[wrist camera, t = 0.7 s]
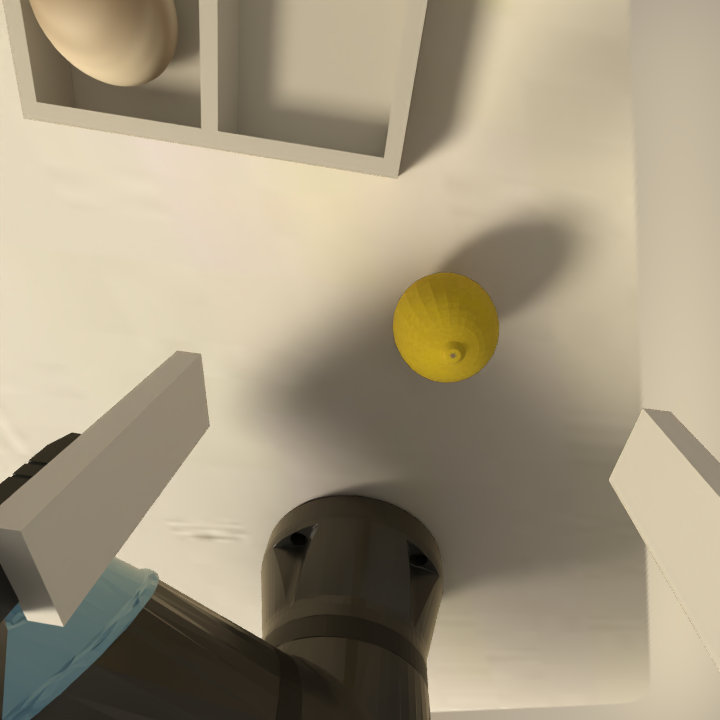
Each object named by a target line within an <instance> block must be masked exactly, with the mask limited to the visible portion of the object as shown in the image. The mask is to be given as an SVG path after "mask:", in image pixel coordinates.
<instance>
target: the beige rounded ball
mask: <svg viewBox="0 0 720 720" xmlns="http://www.w3.org/2000/svg"><path fill="white" fill-rule="evenodd" d="M29 1H30V5H31V7H32V10H33V12H34V14H35V17H36V19H37V21H38V23H39V25H40V27H41V28H42V30H43V31H44V33H45V35H46V36H47V37H48V39H49V40H50V41H51V43H52V44H53V45H54V47H55V48H56V49H57V50H58V51H59V52H60V53H61V54H62V55H63V56H64V57H65V58H66V59H67V60H68V61H69V62H70V63H71V64H73V65H74V66H75V67H77V68H78V69H79V70H81V71H82V72H84V73H85V74H87V75H89V76H91V77H93V78H95V79H97V80H100V81H102V82H105V83H107V84H112V85H116V86H125V87H129V86H139V85H143V84H146V83H148V82H150V81H152V80H154V79H155V78H157V77H158V76H160V75H161V74H162V73H163V72H164V71H165V69H166V68H167V67H168V66H169V64H170V62H171V60H172V58H173V55H174V53H175V50H176V46H177V39H178V19H177V13H176V7H175V4H174V0H29Z"/></svg>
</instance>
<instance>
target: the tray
mask: <svg viewBox="0 0 720 720" xmlns="http://www.w3.org/2000/svg"><path fill="white" fill-rule="evenodd" d="M427 1H428V0H174V4H175V7H176V13H177V19H178V39H177V46H176V50H175V53H174V55H173V58H172V60H171V62H170V64H169V66H168V67H167V68H166V69H165V71H164V72H163V73H162V74H161V75H160V76H158V77H157V78H155V79H154V80H152V81H150V82H148V83H146V84H143V85H139V86H129V87H125V86H116V85H112V84H107V83H105V82H102V81H100V80H97V79H95V78H93V77H91V76H89V75H87V74H85V73H84V72H82V71H81V70H79V69H78V68H77V67H75V66H74V65H73V64H71V63H70V62H69V61H68V60H67V59H66V58H65V57H64V56H63V55H62V54H61V53H60V52H59V51H58V50H57V49H56V48H55V47H54V45H53V44H52V43H51V41H50V40H49V39H48V37H47V36H46V35H45V33H44V31H43V30H42V28H41V27H40V25H39V23H38V21H37V19H36V17H35V14H34V12H33V10H32V7H31V5H30V1H29V0H3V6H4V12H5V17H6V23H7V28H8V34H9V40H10V45H11V51H12V56H13V62H14V68H15V73H16V79H17V84H18V90H19V96H20V101H21V107H22V112H23V118H24V119H30V120H36V121H42V122H48V123H55V124H61V125H67V126H73V127H79V128H86V129H92V130H98V131H104V132H110V133H117V134H123V135H129V136H135V137H141V138H148V139H154V140H160V141H166V142H172V143H179V144H185V145H191V146H197V147H203V148H210V149H216V150H222V151H228V152H234V153H241V154H247V155H253V156H259V157H265V158H272V159H278V160H284V161H290V162H296V163H303V164H309V165H315V166H321V167H327V168H334V169H340V170H346V171H352V172H358V173H365V174H371V175H377V176H383V177H389V178H396V179H398V173H399V167H400V161H401V155H402V149H403V143H404V137H405V132H406V126H407V120H408V114H409V108H410V102H411V96H412V90H413V84H414V78H415V72H416V66H417V61H418V55H419V49H420V43H421V37H422V31H423V25H424V19H425V13H426V7H427Z"/></svg>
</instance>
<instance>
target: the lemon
mask: <svg viewBox="0 0 720 720" xmlns="http://www.w3.org/2000/svg"><path fill="white" fill-rule="evenodd" d="M393 333H394V339H395V343H396V346H397V348H398V350H399V352H400V354H401V356H402V358H403V359H404V360H405V362H406V363H407V364H408V365H409V366H410V368H411V369H412V370H414V371H415V372H417V373H418V374H420V375H421V376H423V377H425V378H428V379H430V380H433V381H437V382H444V383H447V382H457V381H460V380H464V379H467V378H469V377H471V376H473V375H474V374H476V373H478V372H479V371H480V370H481V369H482V368H483V367H484V366H485V365H486V364H487V363H488V361H489V360H490V358H491V357H492V355H493V354H494V351H495V348H496V345H497V342H498V335H499V321H498V316H497V312H496V308H495V306H494V304H493V302H492V300H491V298H490V297H489V295H488V294H487V292H486V291H485V290H484V289H483V288H482V287H481V286H480V285H479V284H478V283H476V282H474V281H473V280H471V279H469V278H467V277H466V276H462V275H459V274H455V273H436V274H432V275H427V276H425V277H423V278H422V279H420V280H418V281H416V282H415V283H414V284H412V285H411V286H410V287H409V288H408V289H407V290H406V291H405V293H404V294H403V295H402V297H401V298H400V300H399V302H398V305H397V307H396V310H395V313H394V320H393Z"/></svg>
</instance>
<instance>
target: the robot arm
mask: <svg viewBox="0 0 720 720" xmlns="http://www.w3.org/2000/svg"><path fill="white" fill-rule="evenodd" d="M209 426H210V425H209V416H208V408H207V399H206V391H205V382H204V374H203V366H202V357H201V354H198V353H190V352H182V351H177V352H175V353H174V354H173V355H172V356H171V357H170V358H168V359H167V360H166V361H165V362H164V363H163V364H162V365H160V366H159V367H158V368H157V369H156V370H155V371H154V372H152V373H151V374H150V375H149V376H148V377H147V378H146V379H144V380H143V381H142V382H141V383H140V384H139V385H138V386H136V387H135V388H134V389H133V390H132V391H131V392H129V393H128V394H127V395H126V396H125V397H124V398H123V399H121V400H120V401H119V402H118V403H117V404H116V405H115V406H113V407H112V408H111V409H110V410H109V411H108V412H107V413H105V414H104V415H103V416H102V417H101V418H100V419H98V420H97V421H96V422H95V423H94V424H93V425H92V426H90V427H89V428H88V429H87V430H86V431H85V432H84V433H82V434H77V433H70V434H68V435H66V436H64V437H62V438H60V439H58V440H56V441H55V442H53V443H51V444H49V445H47V446H46V447H45V448H43V449H42V450H41V451H40V452H39V453H37V454H36V455H35V456H34V457H32V458H31V459H30V460H29V463H28V464H24V465H23V466H21V467H20V468H19V469H18V470H17V471H15V472H14V473H13V476H12V477H8V478H7V479H6V480H4V481H3V482H2V483H1V484H0V720H430V707H429V694H428V681H427V656H428V652H429V648H430V644H431V640H432V636H433V631H434V627H435V623H436V619H437V615H438V611H439V606H440V602H441V598H442V593H443V573H442V564H441V557H440V552H439V549H438V546H437V544H436V542H435V540H434V538H433V536H432V535H431V534H430V532H429V531H428V530H427V529H426V528H425V526H424V525H423V524H421V523H420V522H419V521H418V520H417V519H416V518H414V517H413V516H412V515H410V514H408V513H407V512H405V511H403V510H402V509H400V508H398V507H395V506H393V505H391V504H388V503H385V502H382V501H379V500H375V499H370V498H365V497H357V496H335V497H327V498H322V499H317V500H314V501H311V502H308V503H305V504H303V505H301V506H299V507H297V508H295V509H294V510H292V511H291V512H289V513H288V514H287V515H286V516H284V517H283V518H282V519H281V520H280V521H279V523H278V524H277V525H276V527H275V528H274V530H273V532H272V534H271V537H270V539H269V542H268V545H267V548H266V551H265V554H264V557H263V562H262V569H261V585H262V635H263V637H262V639H261V638H259V637H257V636H255V635H254V634H252V633H250V632H249V631H247V630H245V629H243V628H242V627H240V626H238V625H236V624H235V623H233V622H231V621H230V620H228V619H226V618H224V617H223V616H221V615H219V614H217V613H216V612H214V611H212V610H211V609H209V608H207V607H205V606H204V605H202V604H200V603H199V602H197V601H195V600H193V599H192V598H190V597H188V596H186V595H185V594H183V593H181V592H180V591H178V590H176V589H174V588H173V587H171V586H169V585H167V584H166V583H164V582H162V581H161V580H159V577H158V574H157V573H156V572H154V571H152V570H150V569H138V568H136V567H134V566H132V565H130V564H128V563H126V562H124V561H122V560H120V559H118V558H116V557H115V555H116V554H117V553H118V551H119V550H120V549H121V547H122V546H123V544H124V543H125V542H126V540H127V539H128V538H129V536H130V535H131V533H132V532H133V531H134V529H135V528H136V527H137V525H138V524H139V522H140V521H141V520H142V518H143V517H144V516H145V514H146V513H147V511H148V510H149V509H150V507H151V506H152V505H153V503H154V502H155V500H156V499H157V498H158V496H159V495H160V494H161V492H162V491H163V489H164V488H165V487H166V485H167V484H168V483H169V481H170V480H171V478H172V477H173V476H174V474H175V473H176V472H177V470H178V469H179V467H180V466H181V465H182V463H183V462H184V461H185V459H186V458H187V456H188V455H189V454H190V452H191V451H192V450H193V448H194V447H195V445H196V444H197V443H198V441H199V440H200V439H201V437H202V436H203V434H204V433H205V432H206V430H207V429H208V428H209ZM609 482H610V483H611V485H612V487H613V489H614V490H615V492H616V494H617V495H618V497H619V499H620V501H621V502H622V504H623V506H624V508H625V509H626V511H627V513H628V515H629V516H630V518H631V520H632V521H633V523H634V525H635V527H636V528H637V530H638V532H639V534H640V535H641V537H642V539H643V540H644V542H645V544H646V546H647V547H648V549H649V551H650V553H651V554H652V556H653V558H654V559H655V561H656V563H657V564H658V566H659V568H660V570H661V571H662V573H663V575H664V577H665V579H666V580H667V582H668V584H669V585H670V587H671V589H672V591H673V592H674V594H675V596H676V597H677V599H678V601H679V603H680V605H681V606H682V608H683V610H684V611H685V613H686V615H687V617H688V618H689V620H690V622H691V624H692V625H693V627H694V629H695V630H696V632H697V634H698V636H699V637H700V639H701V641H702V643H703V644H704V646H705V648H706V650H707V651H708V653H709V655H710V656H711V658H712V660H713V662H714V663H715V665H716V667H717V668H718V670H719V672H720V463H719V462H718V461H717V460H716V459H715V458H714V457H713V456H712V455H711V454H710V452H709V451H708V450H707V449H706V448H705V447H704V446H703V445H702V444H701V443H700V442H699V441H698V440H697V439H696V438H695V437H694V436H693V435H692V434H691V433H690V432H689V431H688V430H687V428H686V427H685V426H684V425H683V424H682V423H681V422H680V421H679V420H678V419H677V418H676V417H675V416H674V415H673V414H672V413H671V412H668V411H660V410H652V409H644V408H643V409H642V411H641V413H640V415H639V417H638V419H637V422H636V424H635V426H634V428H633V430H632V432H631V434H630V436H629V438H628V440H627V442H626V445H625V447H624V449H623V451H622V453H621V455H620V457H619V459H618V461H617V463H616V466H615V468H614V470H613V472H612V474H611V476H610V478H609Z"/></svg>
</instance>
